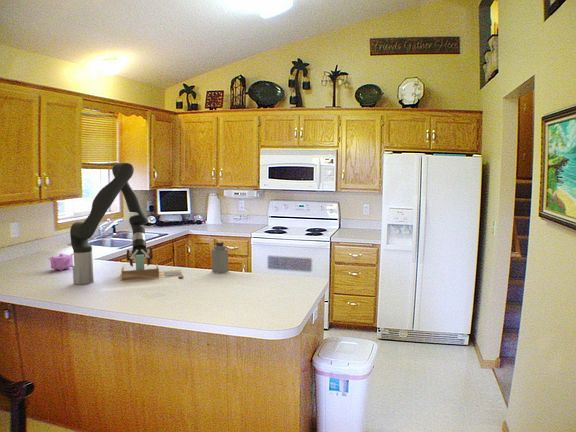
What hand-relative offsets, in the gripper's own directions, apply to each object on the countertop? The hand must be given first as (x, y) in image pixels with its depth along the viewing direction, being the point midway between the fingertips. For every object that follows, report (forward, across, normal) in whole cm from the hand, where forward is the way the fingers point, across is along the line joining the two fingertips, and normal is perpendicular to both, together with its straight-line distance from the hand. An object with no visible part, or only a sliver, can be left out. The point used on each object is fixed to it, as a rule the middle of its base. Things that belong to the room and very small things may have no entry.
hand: (140, 265), depth 252 cm
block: (+4, 0, +5) cm, 6 cm away
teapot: (-22, -45, +33) cm, 60 cm away
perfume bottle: (+4, +46, +7) cm, 46 cm away
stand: (+5, +6, +6) cm, 10 cm away
